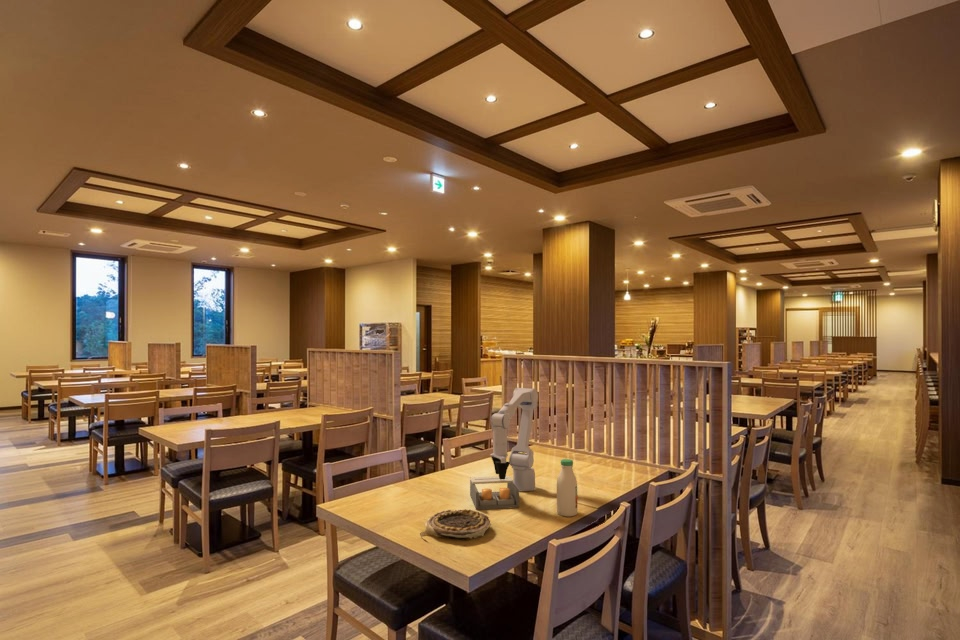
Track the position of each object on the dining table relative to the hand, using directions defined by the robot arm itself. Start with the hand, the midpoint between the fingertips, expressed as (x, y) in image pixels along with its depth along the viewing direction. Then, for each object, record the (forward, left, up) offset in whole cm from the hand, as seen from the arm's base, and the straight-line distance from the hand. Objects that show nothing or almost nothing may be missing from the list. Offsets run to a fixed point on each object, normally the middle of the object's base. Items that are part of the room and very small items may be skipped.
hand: (500, 476), depth 204 cm
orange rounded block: (-1, +5, -9) cm, 10 cm away
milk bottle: (-22, +18, -10) cm, 30 cm away
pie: (+20, +29, -11) cm, 37 cm away
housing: (+3, 0, -10) cm, 10 cm away
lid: (+3, -5, -3) cm, 7 cm away
